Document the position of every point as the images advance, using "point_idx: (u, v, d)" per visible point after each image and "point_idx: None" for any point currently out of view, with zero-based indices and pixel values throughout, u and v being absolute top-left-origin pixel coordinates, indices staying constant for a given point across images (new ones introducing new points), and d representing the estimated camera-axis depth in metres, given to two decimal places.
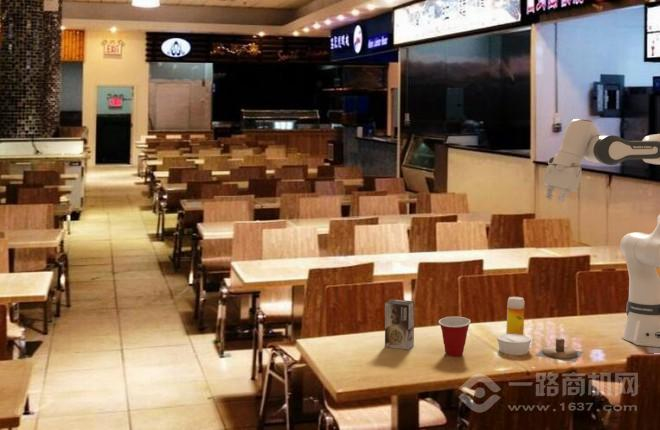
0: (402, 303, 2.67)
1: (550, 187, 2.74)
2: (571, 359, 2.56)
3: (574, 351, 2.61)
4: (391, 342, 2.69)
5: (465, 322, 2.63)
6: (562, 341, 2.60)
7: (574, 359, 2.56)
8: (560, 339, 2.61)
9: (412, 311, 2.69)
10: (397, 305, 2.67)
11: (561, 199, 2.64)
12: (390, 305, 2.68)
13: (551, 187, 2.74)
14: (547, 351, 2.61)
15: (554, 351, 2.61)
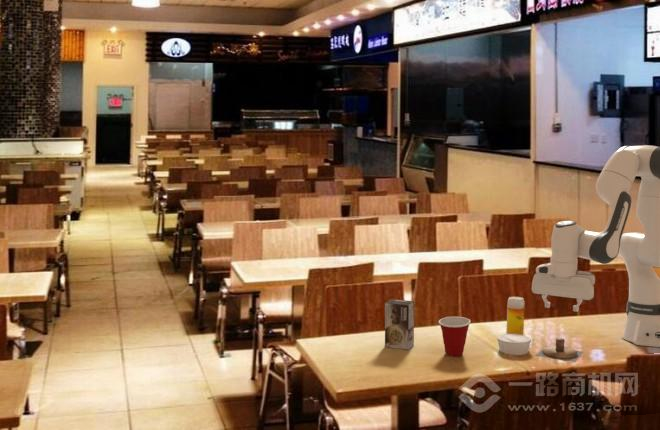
0: (402, 303, 2.67)
1: (546, 296, 2.62)
2: (571, 359, 2.56)
3: (574, 351, 2.61)
4: (391, 342, 2.69)
5: (465, 322, 2.63)
6: (562, 341, 2.60)
7: (574, 359, 2.56)
8: (560, 339, 2.61)
9: (412, 311, 2.69)
10: (397, 305, 2.67)
11: (577, 309, 2.57)
12: (390, 305, 2.68)
13: (546, 295, 2.62)
14: (547, 351, 2.61)
15: (554, 351, 2.61)
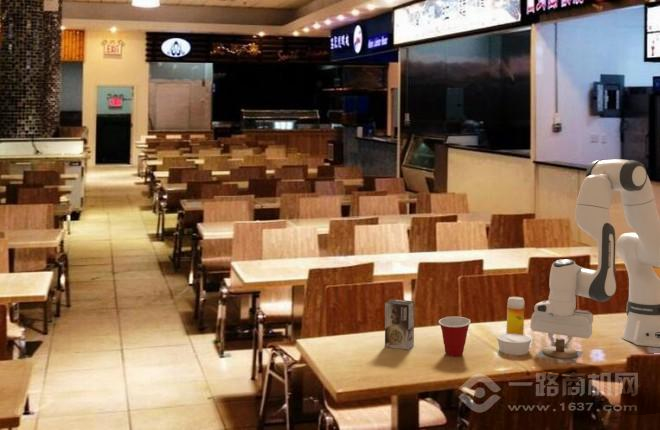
0: (402, 303, 2.67)
1: (552, 334, 2.62)
2: (571, 359, 2.56)
3: (574, 351, 2.61)
4: (391, 342, 2.69)
5: (465, 322, 2.63)
6: (562, 341, 2.60)
7: (574, 359, 2.56)
8: (560, 339, 2.61)
9: (412, 311, 2.69)
10: (397, 305, 2.67)
11: (568, 346, 2.60)
12: (390, 305, 2.68)
13: (553, 333, 2.63)
14: (547, 351, 2.61)
15: (554, 351, 2.61)
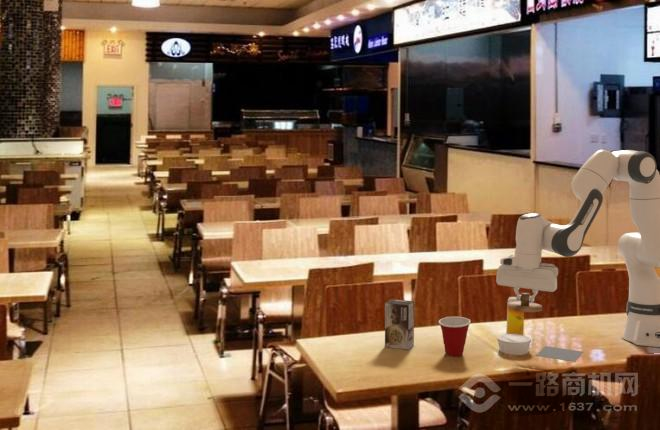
0: (402, 303, 2.67)
1: (518, 288, 2.62)
2: (571, 359, 2.56)
3: (539, 306, 2.61)
4: (391, 342, 2.69)
5: (465, 322, 2.63)
6: (527, 295, 2.60)
7: (574, 359, 2.56)
8: (525, 293, 2.61)
9: (412, 311, 2.69)
10: (397, 305, 2.67)
11: (533, 300, 2.60)
12: (390, 305, 2.68)
13: (518, 287, 2.62)
14: (512, 305, 2.60)
15: (519, 305, 2.61)
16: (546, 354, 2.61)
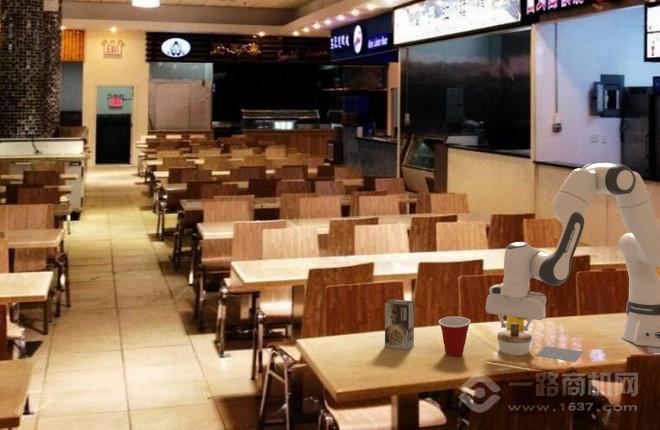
0: (402, 303, 2.67)
1: (502, 316, 2.65)
2: (571, 359, 2.56)
3: (528, 335, 2.64)
4: (391, 342, 2.69)
5: (465, 322, 2.63)
6: (516, 325, 2.63)
7: (574, 359, 2.56)
8: (515, 324, 2.64)
9: (412, 311, 2.69)
10: (397, 305, 2.67)
11: (527, 328, 2.62)
12: (390, 305, 2.68)
13: (503, 315, 2.66)
14: (502, 336, 2.63)
15: (509, 335, 2.63)
16: (546, 354, 2.61)
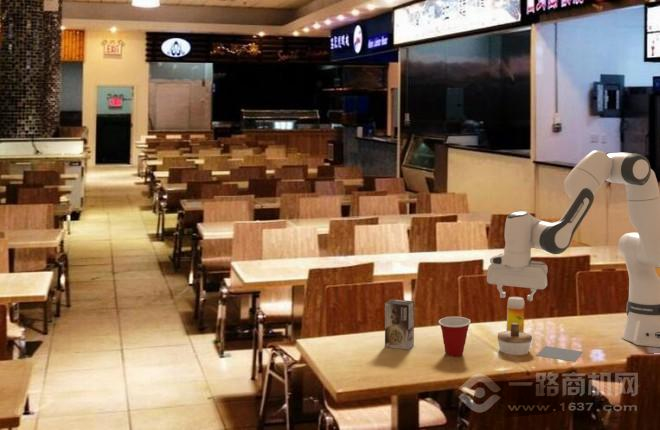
0: (402, 303, 2.67)
1: (501, 286, 2.64)
2: (571, 359, 2.56)
3: (529, 336, 2.64)
4: (391, 342, 2.69)
5: (465, 322, 2.63)
6: (517, 326, 2.63)
7: (574, 359, 2.56)
8: (515, 324, 2.64)
9: (412, 311, 2.69)
10: (397, 305, 2.67)
11: (531, 298, 2.60)
12: (390, 305, 2.68)
13: (501, 285, 2.65)
14: (502, 336, 2.63)
15: (509, 336, 2.63)
16: (546, 354, 2.61)
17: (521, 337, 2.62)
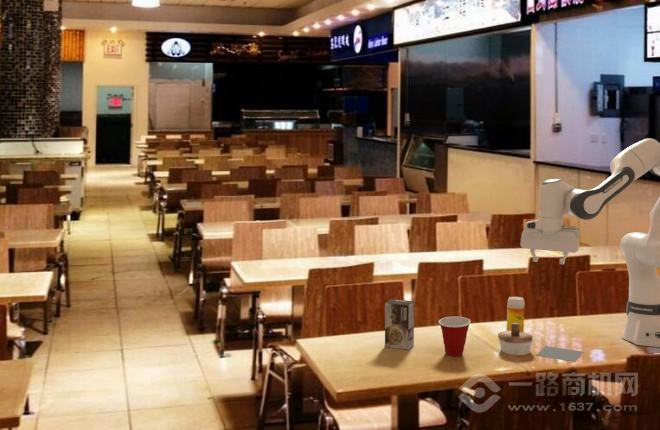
0: (402, 303, 2.67)
1: (534, 250, 2.77)
2: (571, 359, 2.56)
3: (529, 335, 2.64)
4: (391, 342, 2.69)
5: (465, 322, 2.63)
6: (517, 326, 2.62)
7: (574, 359, 2.56)
8: (515, 324, 2.64)
9: (412, 311, 2.69)
10: (397, 305, 2.67)
11: (563, 262, 2.72)
12: (390, 305, 2.68)
13: (534, 249, 2.77)
14: (502, 336, 2.63)
15: (509, 336, 2.63)
16: (546, 354, 2.61)
17: (522, 337, 2.62)
